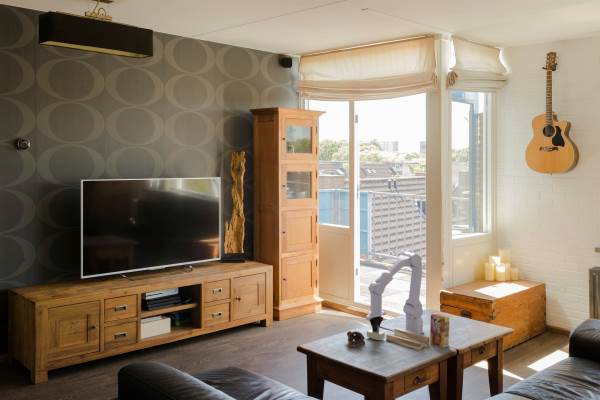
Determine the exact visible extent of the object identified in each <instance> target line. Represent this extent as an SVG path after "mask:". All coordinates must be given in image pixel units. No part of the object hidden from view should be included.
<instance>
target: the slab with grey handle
mask: <svg viewBox="0 0 600 400" xmlns="http://www.w3.org/2000/svg"><path fill="white" fill-rule="evenodd" d="M385 336H386V333H385V332H383V331H380V328H379V325H377V332H374V331H373V330H372V329H369V330H367V331H366V337H367V338H369V339H373V340H377V341H381V340H384V339H385V338H386V337H385Z"/></svg>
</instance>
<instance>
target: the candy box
mask: <svg viewBox="0 0 600 400" xmlns="http://www.w3.org/2000/svg"><path fill="white" fill-rule="evenodd" d="M429 326H430V331H429V332H430V333H429V335H430V336H429V345H434V346H437V347H440V348H444V349H445V348H447V347H449V343H450V342H449V341H450V340H449V339H450V316H449V315H444V314H440V313H436V312H434V313H431V314H430V325H429Z"/></svg>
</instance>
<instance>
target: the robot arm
mask: <svg viewBox="0 0 600 400" xmlns="http://www.w3.org/2000/svg"><path fill="white" fill-rule="evenodd" d="M404 267H409V268H410V269H411V274H410V284H409V293H408V298H407V299H406V300H405V304H404V305H403V308H402V309H403V312H404V314H405V330H406V331H410V332H413V333H417V334H421V335H423V334H425V331H424V320H423V317H422V316H423V312H424V311H423V303H422V302H421V300H420V295H421V286H422V277H423V264H422V257H421V256H420V255H419V254H418V253H414V252H411V251H406V250H405V251H403V252H402V253H401V254H400V255H399V256H398V259H397V260H396V262H394V264H392V266H391V267H390V268H389V269H388V271H384V272H382V273H381V274H380V276H379V277H378V278H376V279H375V281H372V282H370V283H369V286H368V288H367V289H368V291H369V293H370V294H369V295H370V311H369V312H368V314H367V315H366V316H365V320H366V321H369V322H370V326H371V330H373V331H374V332H377V325H379V329H380V327H381V324H382V322H383V320H384V317H383V316H386V315H387V312H386V310H382V307H383V305H382V304H383V301H382V299H383V297H382V296H383V293H384V292H385V289H386V288H387V285H389V284H390V283H391V282H392V280H394V279H393V278H394V276H395V275H396V274H397V273H398V272H399V271H400V270H401V269H403V268H404Z"/></svg>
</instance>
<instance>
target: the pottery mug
mask: <svg viewBox="0 0 600 400" xmlns="http://www.w3.org/2000/svg"><path fill="white" fill-rule="evenodd" d="M346 336H347V342H348V343H347V347H348V348H352V347H358V346H360V345H362V344H363V345H364V346H365V344H366V341H365V340H366V337H364V334H363V333H361V332H360V331H356V330H355V331H347V332H346Z"/></svg>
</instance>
